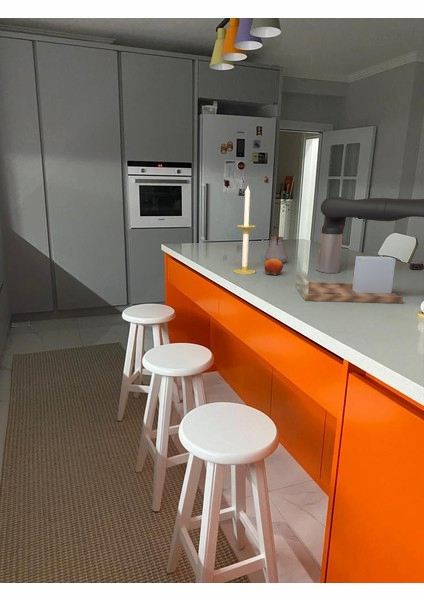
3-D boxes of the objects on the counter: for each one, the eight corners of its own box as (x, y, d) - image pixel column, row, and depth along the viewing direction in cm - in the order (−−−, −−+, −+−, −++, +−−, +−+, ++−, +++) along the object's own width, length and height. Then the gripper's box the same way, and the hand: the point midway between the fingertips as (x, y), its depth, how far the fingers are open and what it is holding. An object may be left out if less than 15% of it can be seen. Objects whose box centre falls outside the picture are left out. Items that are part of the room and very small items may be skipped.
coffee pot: (264, 260, 219) (266, 231, 216) (286, 261, 218) (288, 232, 214) (263, 267, 199) (265, 235, 195) (288, 268, 197) (290, 236, 194)
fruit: (260, 272, 179) (264, 255, 181) (264, 279, 187) (267, 262, 189) (279, 274, 177) (282, 256, 178) (282, 280, 184) (285, 263, 186)
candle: (228, 271, 188) (231, 184, 178) (243, 268, 195) (246, 184, 185) (245, 275, 181) (249, 184, 172) (260, 272, 188) (264, 185, 178)
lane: (305, 300, 141) (306, 282, 139) (295, 287, 160) (297, 271, 159) (401, 303, 140) (404, 285, 138) (381, 289, 159) (383, 273, 158)
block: (356, 292, 147) (360, 258, 144) (352, 289, 152) (355, 256, 149) (391, 293, 147) (395, 259, 144) (386, 290, 152) (390, 256, 149)
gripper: (452, 253, 152) (404, 253, 152) (473, 259, 139) (420, 259, 139) (449, 274, 153) (401, 273, 154) (470, 282, 141) (417, 281, 141)
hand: (410, 266), depth 147 cm, fingers closed
